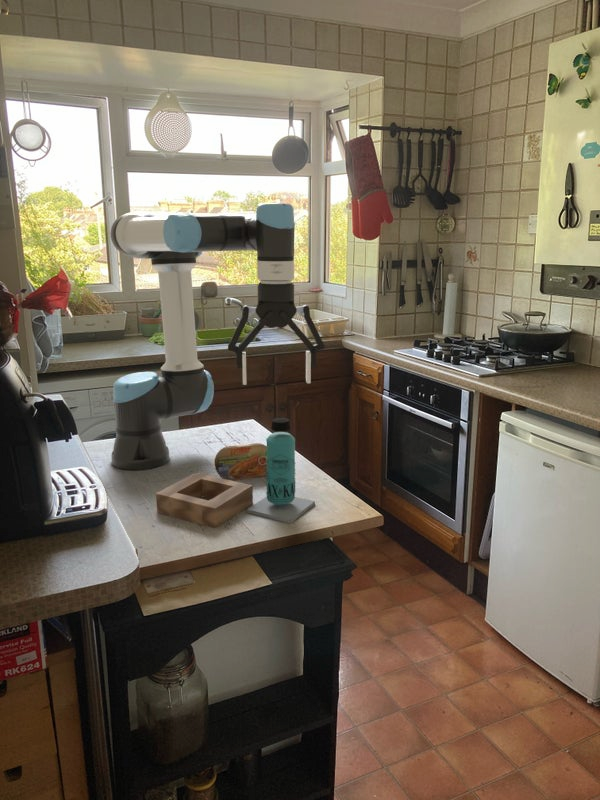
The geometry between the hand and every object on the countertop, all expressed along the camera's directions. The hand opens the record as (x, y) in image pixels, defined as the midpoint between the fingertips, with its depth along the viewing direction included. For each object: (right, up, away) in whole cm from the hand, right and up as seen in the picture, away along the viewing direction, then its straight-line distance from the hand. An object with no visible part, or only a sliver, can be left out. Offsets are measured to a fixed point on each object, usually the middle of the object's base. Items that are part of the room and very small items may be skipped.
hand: (276, 382), depth 135 cm
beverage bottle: (+1, -27, +6) cm, 28 cm away
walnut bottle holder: (-16, -28, +6) cm, 33 cm away
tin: (-9, -23, +25) cm, 35 cm away
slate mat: (+1, -28, +6) cm, 29 cm away
